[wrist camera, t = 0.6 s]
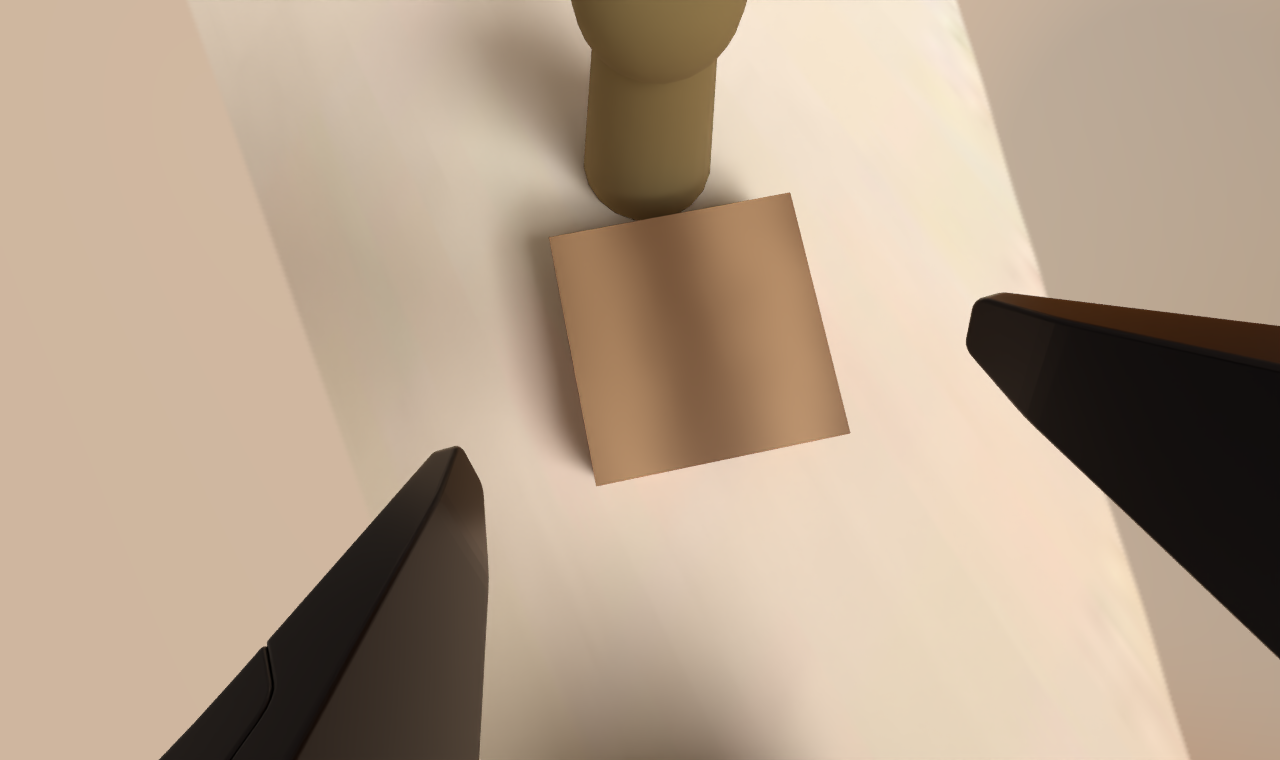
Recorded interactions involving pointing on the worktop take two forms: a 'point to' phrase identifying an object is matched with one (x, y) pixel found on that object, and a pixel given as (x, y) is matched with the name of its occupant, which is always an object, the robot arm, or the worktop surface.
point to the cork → (652, 99)
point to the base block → (696, 338)
